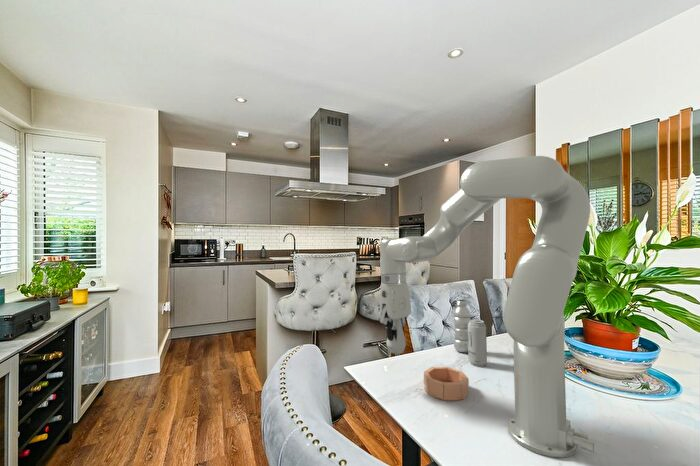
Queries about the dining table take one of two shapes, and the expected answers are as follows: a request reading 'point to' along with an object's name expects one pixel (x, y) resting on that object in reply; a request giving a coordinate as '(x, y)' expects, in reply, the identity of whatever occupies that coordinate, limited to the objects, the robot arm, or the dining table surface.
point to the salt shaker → (400, 343)
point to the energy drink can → (477, 343)
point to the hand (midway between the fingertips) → (396, 340)
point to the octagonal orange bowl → (446, 383)
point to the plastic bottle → (461, 326)
